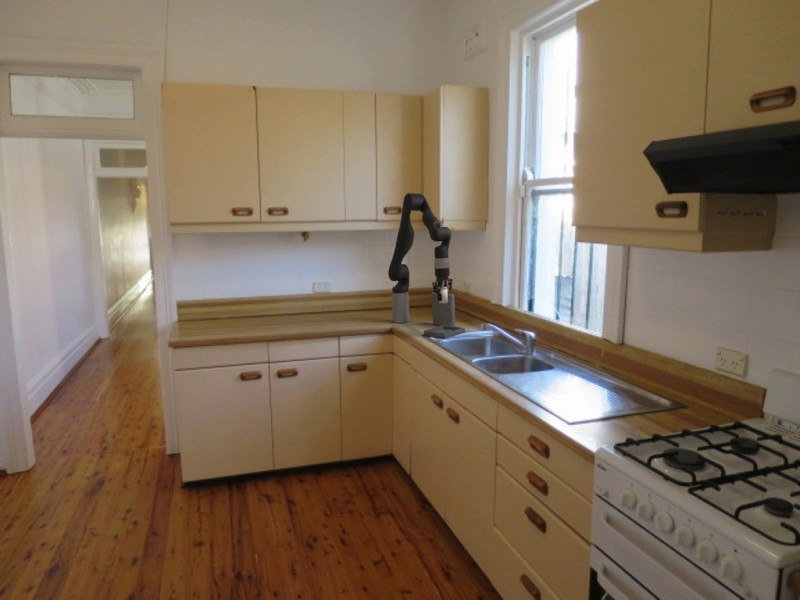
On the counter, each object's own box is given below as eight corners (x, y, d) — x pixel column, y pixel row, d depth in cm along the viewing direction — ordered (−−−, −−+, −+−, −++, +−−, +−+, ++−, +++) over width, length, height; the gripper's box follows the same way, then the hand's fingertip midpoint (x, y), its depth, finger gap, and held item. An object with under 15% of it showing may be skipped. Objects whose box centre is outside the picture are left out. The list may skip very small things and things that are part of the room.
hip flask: (456, 326, 309) (455, 290, 306) (451, 327, 307) (450, 291, 303) (435, 323, 321) (434, 287, 318) (430, 324, 319) (429, 288, 315)
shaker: (437, 302, 290) (436, 287, 289) (442, 301, 294) (442, 286, 292) (444, 303, 287) (443, 287, 286) (449, 302, 290) (449, 286, 289)
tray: (423, 335, 292) (423, 330, 292) (443, 329, 303) (443, 324, 303) (445, 338, 282) (444, 333, 282) (464, 332, 294) (464, 327, 293)
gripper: (445, 265, 295) (446, 297, 298) (427, 268, 285) (428, 301, 288) (456, 265, 290) (457, 298, 293) (438, 268, 280) (439, 302, 283)
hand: (443, 300), depth 290 cm, fingers closed on shaker, 4 cm apart
